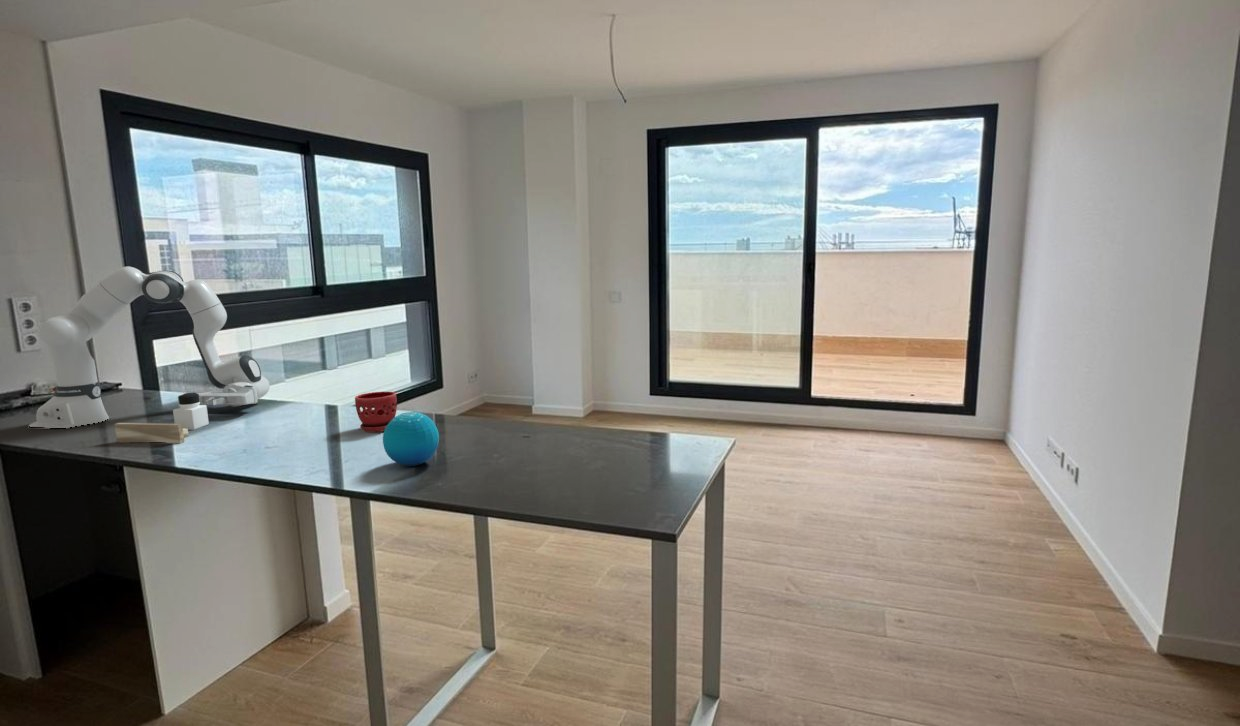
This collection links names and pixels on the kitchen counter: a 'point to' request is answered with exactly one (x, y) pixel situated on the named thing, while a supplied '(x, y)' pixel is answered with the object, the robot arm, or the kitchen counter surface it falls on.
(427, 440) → the decorative orb
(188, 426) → the medicine bottle
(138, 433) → the wooden bay
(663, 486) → the kitchen counter surface
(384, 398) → the plant pot
